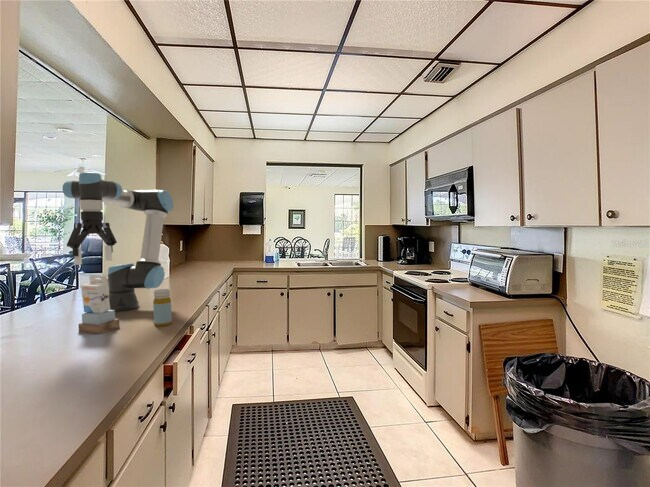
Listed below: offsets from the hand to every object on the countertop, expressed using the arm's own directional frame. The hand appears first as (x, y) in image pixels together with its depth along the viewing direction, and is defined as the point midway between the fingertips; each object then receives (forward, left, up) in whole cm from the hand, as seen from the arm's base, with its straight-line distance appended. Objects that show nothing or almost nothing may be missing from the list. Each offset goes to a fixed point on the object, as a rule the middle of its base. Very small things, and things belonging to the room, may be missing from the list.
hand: (94, 262), depth 140 cm
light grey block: (0, +1, -25) cm, 25 cm away
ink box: (0, +1, -20) cm, 20 cm away
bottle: (-14, +21, -28) cm, 38 cm away
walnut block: (0, +1, -29) cm, 29 cm away
